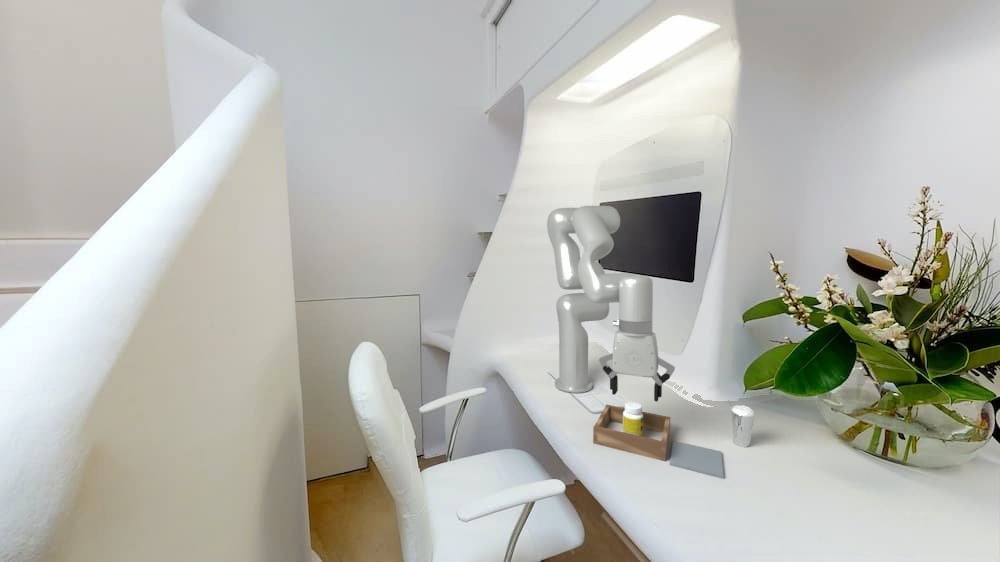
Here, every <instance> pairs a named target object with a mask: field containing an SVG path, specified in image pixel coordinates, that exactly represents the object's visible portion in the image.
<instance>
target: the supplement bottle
mask: <svg viewBox="0 0 1000 562" xmlns="http://www.w3.org/2000/svg"><path fill="white" fill-rule="evenodd" d="M624 408H625V411H624V412H623V424H622V432H624V433H629V434H633V435H638V436H642V437H644V434H643V433H644V428H643V414H642V412H643V406H642V405H641V403H638V402H636V401H635V402H634V401H627V402H626V403H625V404H624Z"/></svg>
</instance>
